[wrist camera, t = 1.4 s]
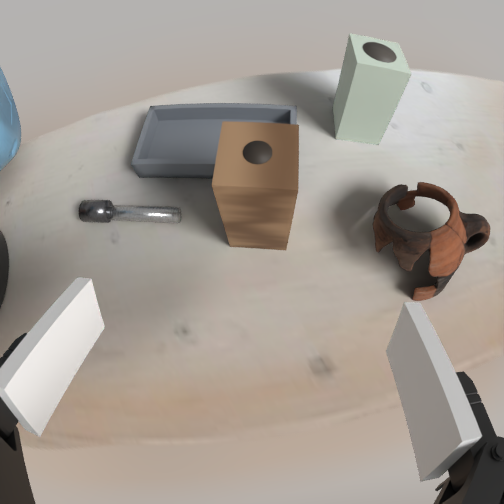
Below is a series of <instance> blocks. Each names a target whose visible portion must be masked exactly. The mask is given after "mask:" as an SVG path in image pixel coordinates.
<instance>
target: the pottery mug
mask: <svg viewBox="0 0 504 504" xmlns="http://www.w3.org/2000/svg"><path fill="white" fill-rule="evenodd" d="M407 190H408V186H407V185H397V186H395V187H393V188H392V189H390V190H389V191H387V192H386V193H385V194H384V195H383V197H382V198H381V200H380V203H379V207H378V211H377V212H376V214H375V216H374V222H373V229H374V232H375V240H376V242H375V245H376V251H377V252H380V250H381V249H382V248H383V247H384V246H386V245H388V244H390V243H391V242H393V251H394V254H395V256H396V257H397V259H398V261H399V265H400V267H401V268H403V269H405V270H406V271H411V270H412V268H413V265H414V262H415V261H417V260H418V259H419V257H420V256H421V255H422V254H423V253H424V252H425V251H426V250H427V249H429V252H430V262H429V267H428V271H429V273H430V275H431V276H433V277H436V276H437V282H436V283H435V285H432V286H428V287H417V288H415V289H414V295H413V297H412V299H413V300H415V301H421V300H426V299H429V298H432V297H434V296H436V295H438V294H439V293H440V292H441V291H442V290H443V289H444V288H445V286H446V284H447V283H448V282H449V280H450V279H451V277H452V276H453V274H454V273H455V271H456V270H457V269H458V267H459V265H460V263H461V261H462V259H463V257H464V255H465V254H466V253H469V252H472V251H474V250H476V249H478V248H480V247H481V246H483V245H484V244H485V243H486V242H487V241H488V239H489V235H490V225H489V223H488V222H487V220H486V219H485V218H484V217H483V216H481V215H479V214H465V213H462V212H460V211H459V208H458V204H457V202H456V200H455V199H454V198H453V196H452V195H450V193H448V192H447V191H445V190H444V189H442V188H441V187H439V186H436V185H433V184H429V183H424V182H419V183H418V185H417V190H413V191H407ZM415 196H421V197H428V198H432V199H435V200H437V201H439V202H441V203H443V204H444V205H446V206H447V207H448V209H449V211H450V217H449V220H448V221H447V222H446V223H445V225H443V226H442V227H440V228H438V229H435V230H433V231H430V232H413V231H409V230H406V229H403V228H401V227H399V226H397V225H396V224H394V223H393V221H392V220H391V219H390V217H389V216H388V213H387V210H388V208H389V206H392V205H395V204H397V206H398V207H399V208H400V210H406V209H409V208H411V207H413V206H414V205H415V200H414V199H415Z"/></svg>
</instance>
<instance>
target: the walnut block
mask: <svg viewBox="0 0 504 504" xmlns="http://www.w3.org/2000/svg"><path fill="white" fill-rule="evenodd" d="M298 169H299V125H295V124H281V123H262V122H227V121H223V122H222V127H221V133H220V138H219V144H218V150H217V156H216V162H215V168H214V174H213V180H212V188H213V192H214V195H215V198H216V202H217V205H218V208H219V211H220V215H221V218H222V221H223V225H224V228H225V231H226V234H227V238H228V241H229V244H230V247H245V248H261V249H276V250H286V248H287V243H288V238H289V233H290V229H291V224H292V219H293V214H294V209H295V204H296V199H297V194H298Z"/></svg>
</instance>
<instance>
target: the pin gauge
mask: <svg viewBox="0 0 504 504" xmlns="http://www.w3.org/2000/svg"><path fill="white" fill-rule="evenodd" d="M79 216H80V219H81V220H82V221H83V222H110V221H111V220H125V221H151V222H174V223H179V222H180V221H181V208H172V207H135V206H113V204H112V202H111V201H110V200H84V201H82V203H81V204H80V207H79Z"/></svg>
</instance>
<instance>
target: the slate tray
mask: <svg viewBox="0 0 504 504" xmlns="http://www.w3.org/2000/svg"><path fill="white" fill-rule="evenodd" d="M223 121H227V122H262V123H281V124H295V125H297V107H296V106H288V105H271V104H243V103H204V104H176V105H159V106H150V109H149V111H148V114H147V117H146V120H145V122H144V125H143V128H142V131H141V134H140V137H139V140H138V143H137V146H136V149H135V152H134V156H133V159H132V162H131V165H132V167H133V169H134V170H135V172H136V173H137V175H138V176H139V178H145V177H173V178H213V174H214V168H215V162H216V156H217V150H218V144H219V138H220V133H221V127H222V122H223Z"/></svg>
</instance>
